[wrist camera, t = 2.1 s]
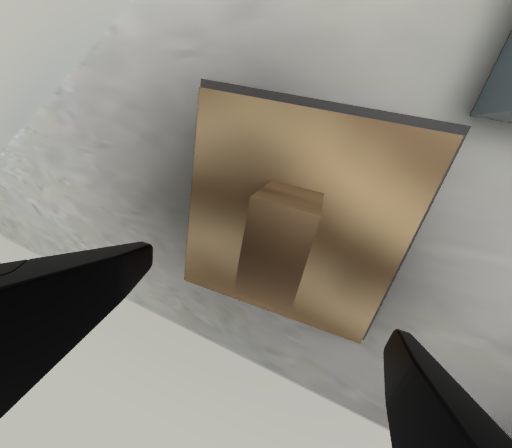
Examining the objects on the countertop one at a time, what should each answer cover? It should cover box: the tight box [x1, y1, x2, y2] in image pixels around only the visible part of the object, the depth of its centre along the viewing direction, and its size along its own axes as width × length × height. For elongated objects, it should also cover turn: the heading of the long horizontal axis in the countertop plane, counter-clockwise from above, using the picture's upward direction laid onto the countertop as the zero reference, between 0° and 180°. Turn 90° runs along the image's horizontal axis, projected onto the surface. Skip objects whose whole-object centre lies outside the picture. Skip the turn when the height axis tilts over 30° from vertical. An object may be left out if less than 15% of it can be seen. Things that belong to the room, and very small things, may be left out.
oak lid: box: [184, 87, 463, 343], centre depth 13 cm, size 13×13×5 cm
